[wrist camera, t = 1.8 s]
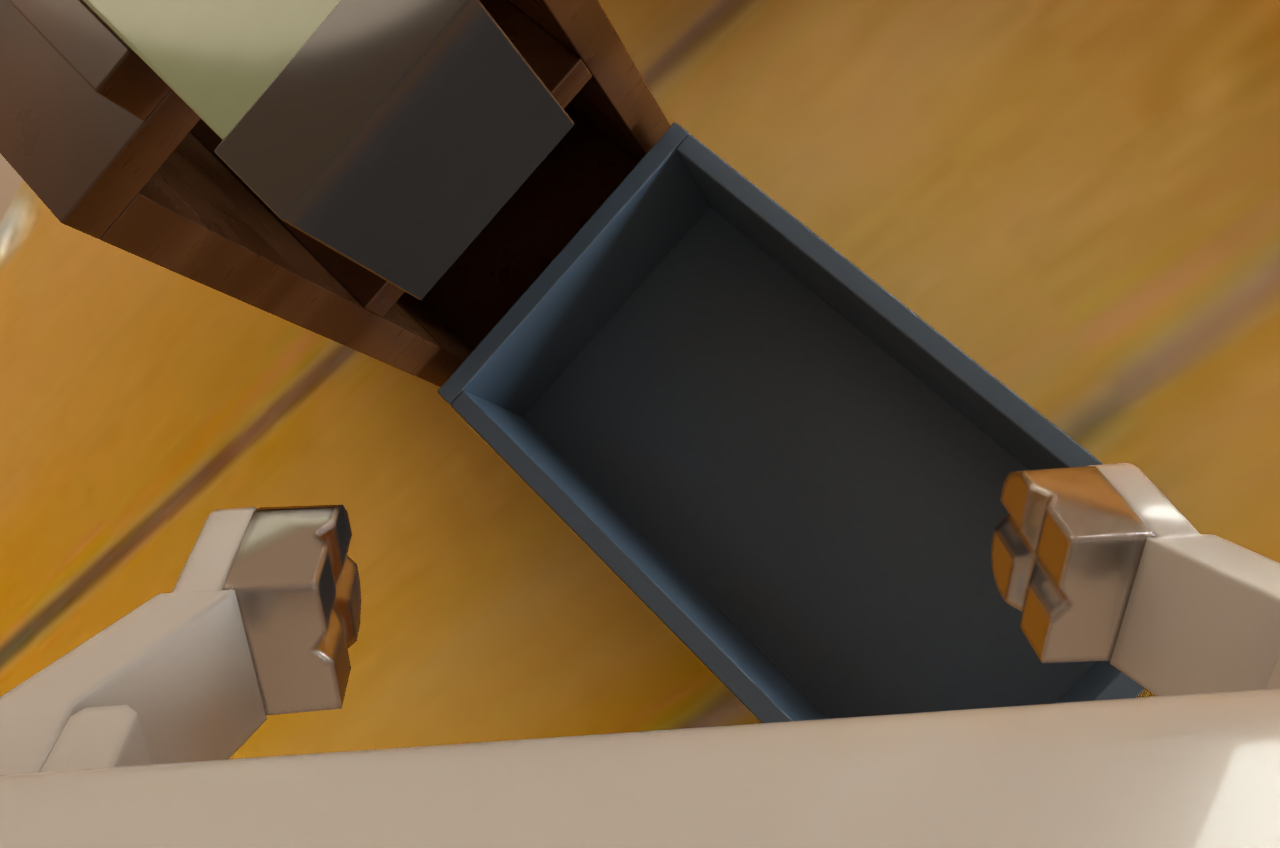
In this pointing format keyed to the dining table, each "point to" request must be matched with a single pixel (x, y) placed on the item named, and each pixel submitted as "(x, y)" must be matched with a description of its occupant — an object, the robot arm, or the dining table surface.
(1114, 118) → the dining table surface
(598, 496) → the crate
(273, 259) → the stand
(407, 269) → the drawer
